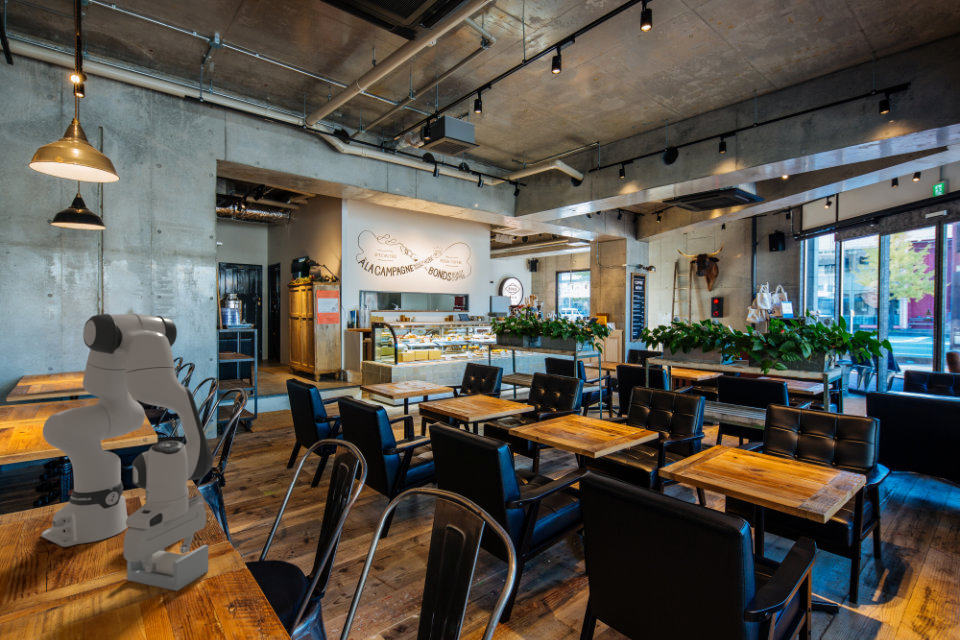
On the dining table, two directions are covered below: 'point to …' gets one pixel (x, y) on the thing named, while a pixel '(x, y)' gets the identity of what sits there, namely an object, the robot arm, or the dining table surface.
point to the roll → (164, 562)
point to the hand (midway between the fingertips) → (168, 561)
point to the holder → (182, 571)
